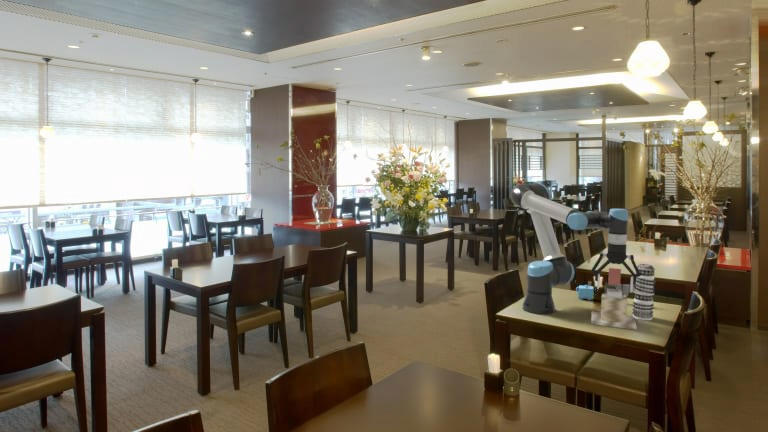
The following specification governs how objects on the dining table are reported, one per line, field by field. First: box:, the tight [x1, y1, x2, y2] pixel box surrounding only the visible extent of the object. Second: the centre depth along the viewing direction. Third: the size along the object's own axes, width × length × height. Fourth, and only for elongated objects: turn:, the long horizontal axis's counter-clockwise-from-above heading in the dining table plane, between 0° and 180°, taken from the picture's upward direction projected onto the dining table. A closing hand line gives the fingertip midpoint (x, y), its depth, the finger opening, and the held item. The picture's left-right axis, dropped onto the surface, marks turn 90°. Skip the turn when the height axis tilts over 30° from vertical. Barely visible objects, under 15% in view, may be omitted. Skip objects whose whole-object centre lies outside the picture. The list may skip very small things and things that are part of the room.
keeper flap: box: [607, 267, 622, 288], centre depth 231 cm, size 5×8×1 cm
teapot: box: [575, 284, 595, 301], centre depth 265 cm, size 12×6×8 cm, turn 67°
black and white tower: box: [631, 263, 657, 321], centre depth 232 cm, size 9×9×25 cm
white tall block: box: [607, 287, 622, 299], centre depth 225 cm, size 6×6×12 cm
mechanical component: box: [614, 283, 635, 299], centre depth 256 cm, size 3×10×10 cm, turn 78°
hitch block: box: [590, 282, 637, 330], centre depth 225 cm, size 18×16×16 cm
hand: (614, 289), depth 225 cm, fingers open, 13 cm apart
